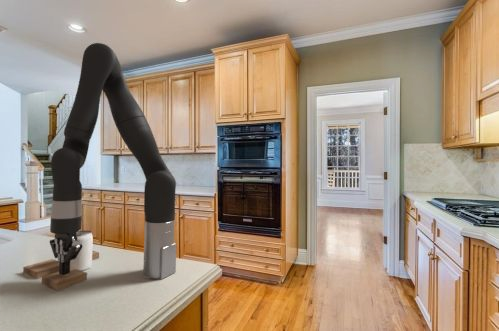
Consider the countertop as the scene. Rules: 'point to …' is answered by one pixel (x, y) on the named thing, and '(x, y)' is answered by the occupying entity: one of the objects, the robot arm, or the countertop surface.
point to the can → (83, 251)
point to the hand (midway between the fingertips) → (64, 273)
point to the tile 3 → (95, 255)
